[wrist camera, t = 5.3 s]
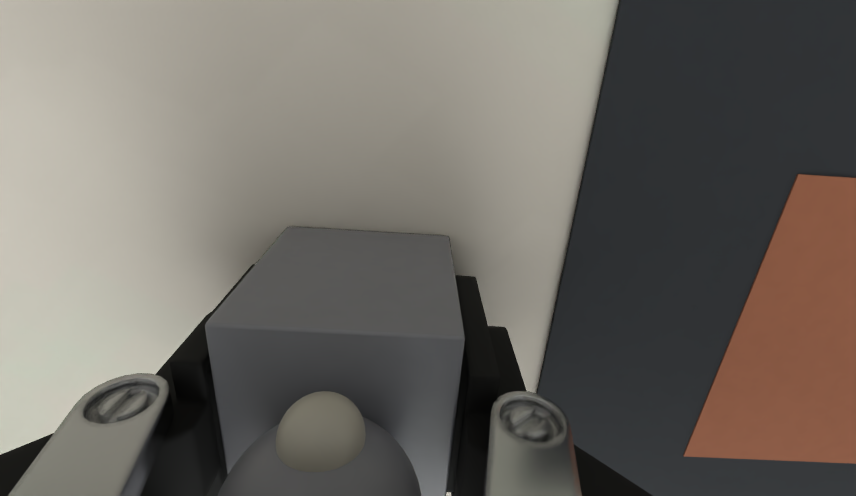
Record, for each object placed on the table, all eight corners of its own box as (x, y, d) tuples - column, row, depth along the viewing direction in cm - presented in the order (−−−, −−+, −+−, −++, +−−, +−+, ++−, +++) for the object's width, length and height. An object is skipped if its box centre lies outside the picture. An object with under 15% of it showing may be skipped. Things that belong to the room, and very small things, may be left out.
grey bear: (449, 235, 11) (493, 508, 4) (434, 388, 13) (449, 749, 6) (287, 225, 11) (56, 493, 4) (296, 381, 12) (150, 744, 6)
